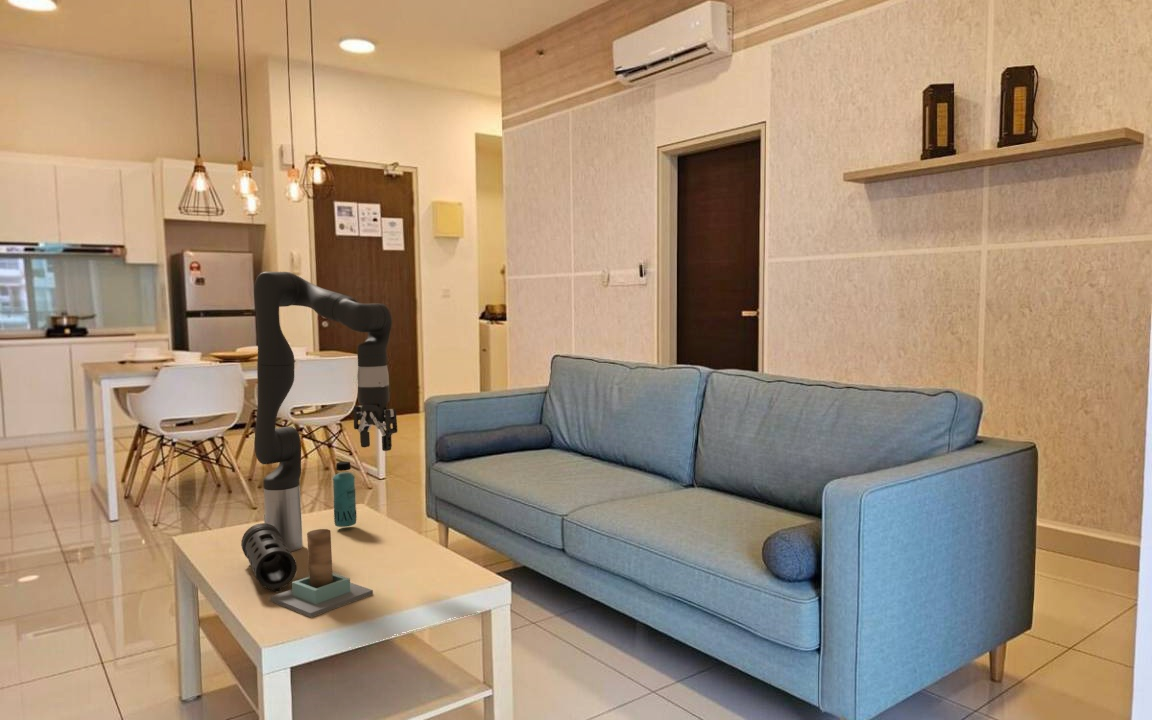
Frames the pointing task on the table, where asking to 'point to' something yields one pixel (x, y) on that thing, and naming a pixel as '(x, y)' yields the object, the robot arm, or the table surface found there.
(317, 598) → the socket stand
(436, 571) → the table surface
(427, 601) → the table surface
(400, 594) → the table surface
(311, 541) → the walnut peg
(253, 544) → the muzzle brake
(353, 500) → the beverage bottle
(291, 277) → the robot arm
